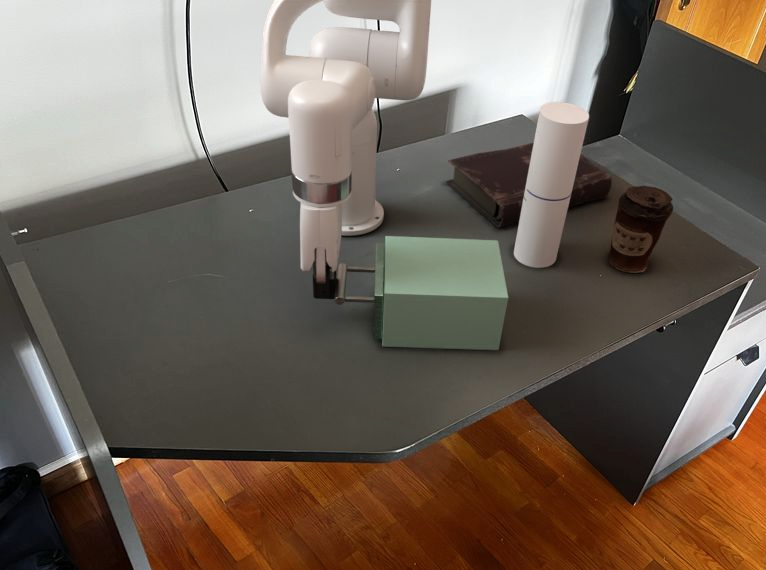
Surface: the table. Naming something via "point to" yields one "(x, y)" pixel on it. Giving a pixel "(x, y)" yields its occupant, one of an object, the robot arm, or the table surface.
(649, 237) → the coffee cup
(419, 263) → the fridge
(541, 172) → the cylindrical container
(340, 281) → the fridge drawer
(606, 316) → the table surface
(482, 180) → the diary
